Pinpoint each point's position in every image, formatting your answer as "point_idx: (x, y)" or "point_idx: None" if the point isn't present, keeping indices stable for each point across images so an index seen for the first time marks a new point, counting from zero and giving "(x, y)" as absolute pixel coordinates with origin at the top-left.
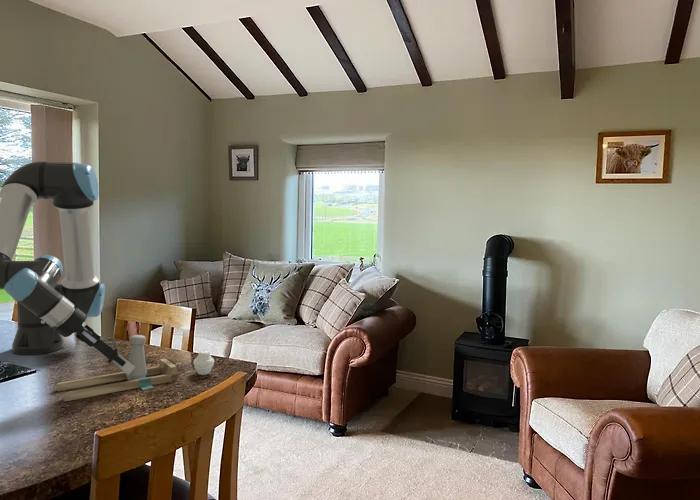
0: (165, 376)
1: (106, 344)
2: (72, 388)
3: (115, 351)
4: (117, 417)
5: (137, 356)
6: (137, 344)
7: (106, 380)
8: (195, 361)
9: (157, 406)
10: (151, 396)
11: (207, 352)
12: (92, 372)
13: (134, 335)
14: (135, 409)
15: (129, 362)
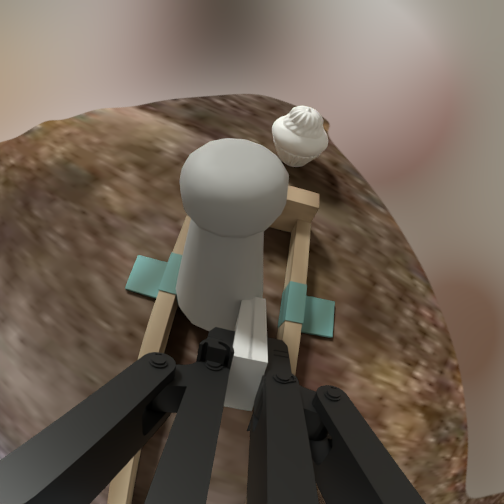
0: (308, 240)
1: (407, 482)
2: (132, 492)
3: (355, 409)
4: (448, 450)
5: (262, 262)
6: (274, 219)
7: None
8: (303, 144)
9: (445, 355)
10: (386, 340)
11: (316, 111)
12: (22, 343)
13: (212, 167)
14: (437, 405)
15: (265, 317)
